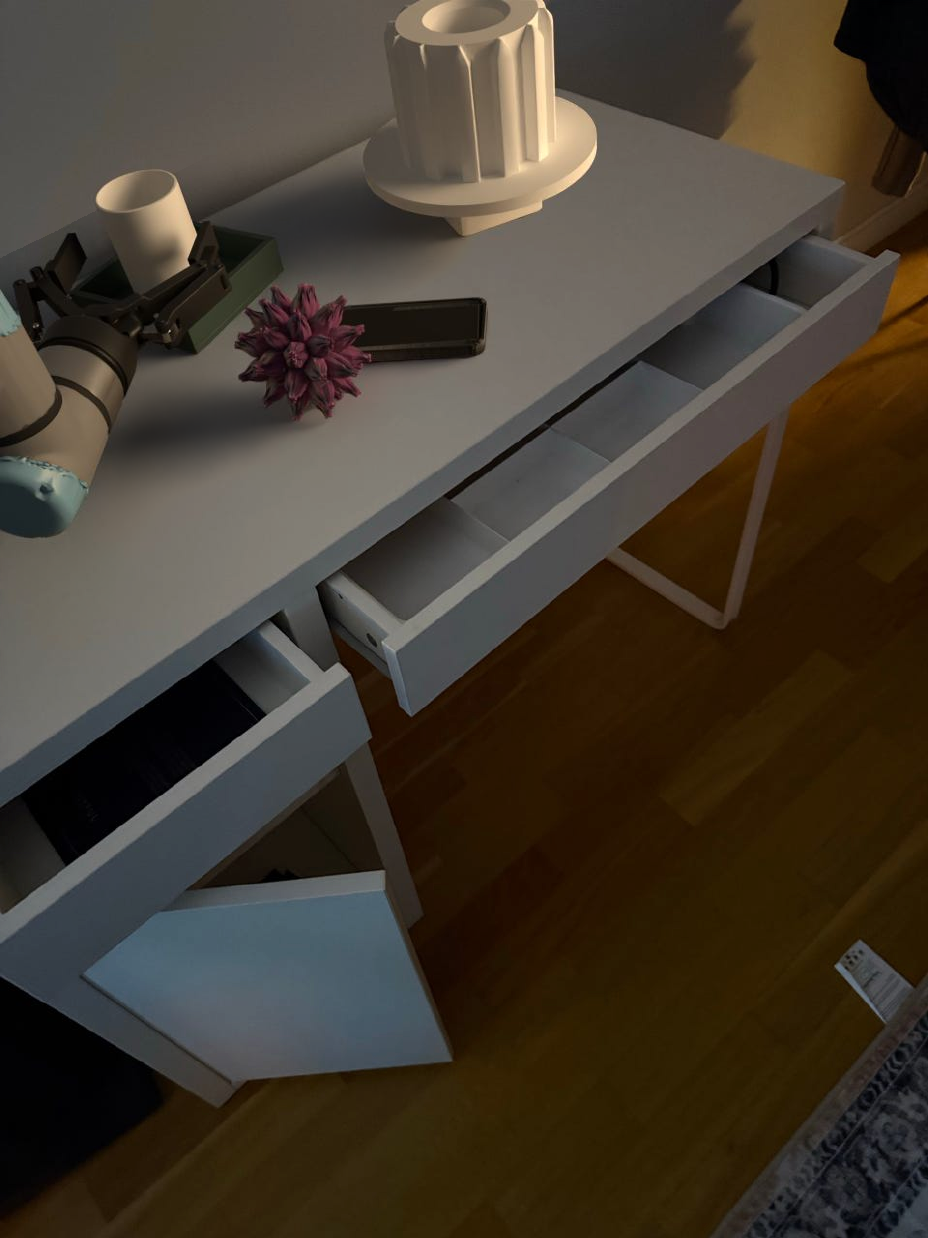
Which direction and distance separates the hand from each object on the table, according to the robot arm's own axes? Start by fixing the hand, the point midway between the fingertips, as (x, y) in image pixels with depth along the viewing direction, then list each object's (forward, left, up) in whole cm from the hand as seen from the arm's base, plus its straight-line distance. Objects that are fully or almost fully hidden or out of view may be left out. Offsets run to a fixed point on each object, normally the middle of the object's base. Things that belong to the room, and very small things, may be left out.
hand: (143, 239), depth 88 cm
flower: (+22, -7, -9) cm, 25 cm away
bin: (-1, +3, -9) cm, 9 cm away
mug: (-1, +3, -8) cm, 9 cm away
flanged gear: (+22, +29, -9) cm, 37 cm away
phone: (+26, +5, -9) cm, 28 cm away
